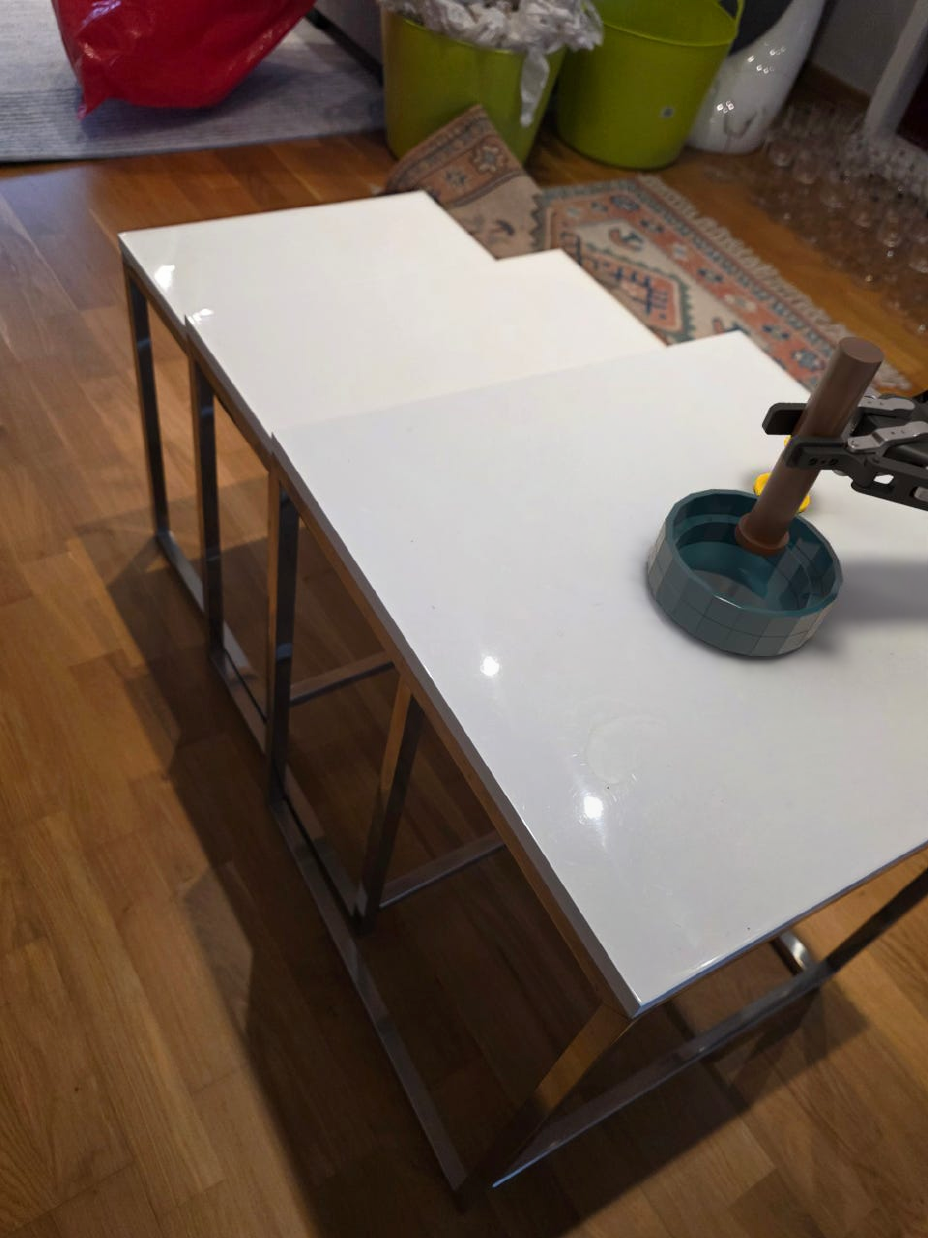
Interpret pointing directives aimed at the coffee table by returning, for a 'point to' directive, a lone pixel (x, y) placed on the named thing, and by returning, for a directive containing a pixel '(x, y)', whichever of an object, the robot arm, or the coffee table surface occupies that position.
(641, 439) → the coffee table surface
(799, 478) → the rod
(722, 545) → the bowl
